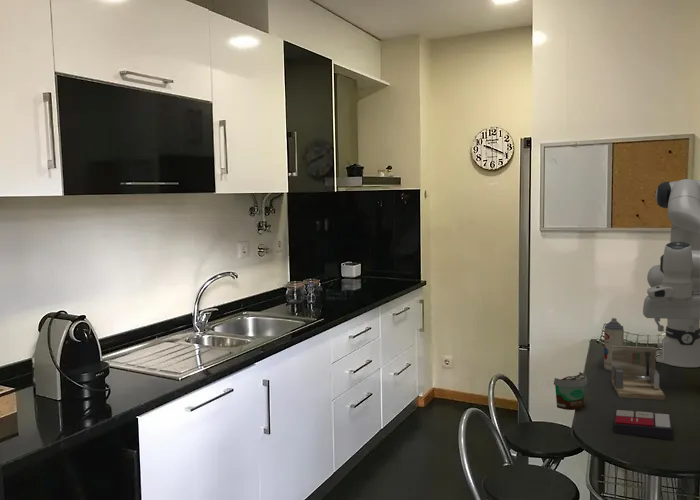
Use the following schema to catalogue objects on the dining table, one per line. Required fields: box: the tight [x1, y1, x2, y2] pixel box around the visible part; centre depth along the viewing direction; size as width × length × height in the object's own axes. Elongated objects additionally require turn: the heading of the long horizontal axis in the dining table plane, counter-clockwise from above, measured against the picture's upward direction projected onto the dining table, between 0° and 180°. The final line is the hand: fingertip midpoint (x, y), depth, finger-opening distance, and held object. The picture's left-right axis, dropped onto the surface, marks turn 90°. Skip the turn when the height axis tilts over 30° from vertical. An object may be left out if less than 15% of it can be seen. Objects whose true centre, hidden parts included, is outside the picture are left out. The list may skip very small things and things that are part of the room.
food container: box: [553, 371, 588, 411], centre depth 191 cm, size 12×6×10 cm, turn 118°
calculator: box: [613, 409, 674, 441], centre depth 173 cm, size 11×4×15 cm
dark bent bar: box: [645, 352, 651, 382], centre depth 207 cm, size 3×2×10 cm, turn 164°
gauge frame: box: [611, 345, 666, 401], centre depth 204 cm, size 16×14×14 cm
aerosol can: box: [603, 317, 625, 373], centre depth 228 cm, size 7×7×20 cm
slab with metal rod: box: [635, 368, 660, 389], centre depth 205 cm, size 8×7×5 cm
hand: (676, 331), depth 199 cm, fingers open, 8 cm apart
